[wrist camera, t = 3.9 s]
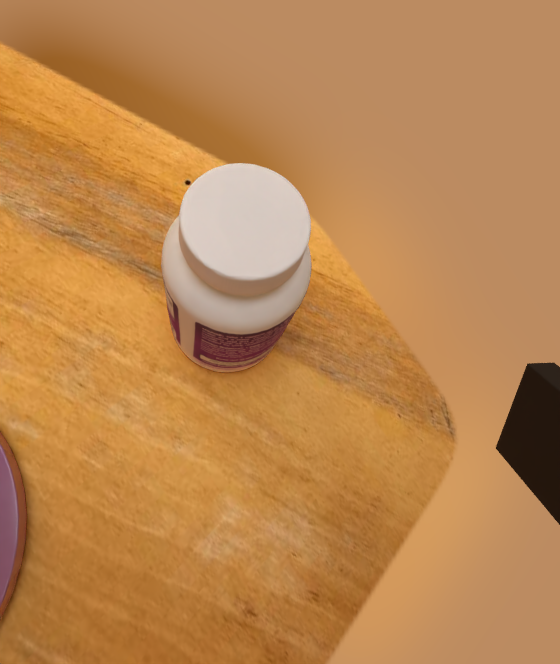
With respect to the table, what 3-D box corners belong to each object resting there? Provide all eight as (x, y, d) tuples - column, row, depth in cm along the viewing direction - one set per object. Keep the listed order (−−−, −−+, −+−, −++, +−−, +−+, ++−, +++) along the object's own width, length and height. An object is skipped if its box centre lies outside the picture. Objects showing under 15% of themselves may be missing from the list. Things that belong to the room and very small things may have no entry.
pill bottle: (300, 312, 24) (367, 211, 15) (237, 396, 22) (271, 340, 13) (214, 249, 24) (229, 112, 15) (145, 328, 22) (115, 226, 13)
